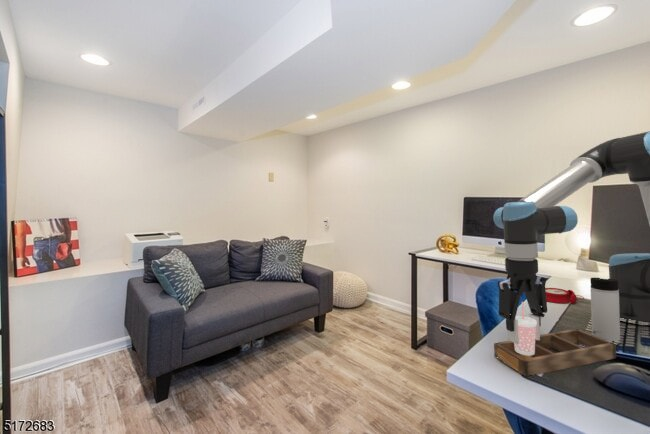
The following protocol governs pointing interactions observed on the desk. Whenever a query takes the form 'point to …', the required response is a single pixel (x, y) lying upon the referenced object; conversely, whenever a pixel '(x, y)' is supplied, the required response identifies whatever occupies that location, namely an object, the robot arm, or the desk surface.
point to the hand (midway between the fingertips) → (524, 339)
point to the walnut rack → (564, 359)
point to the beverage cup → (526, 334)
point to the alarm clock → (560, 296)
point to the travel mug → (605, 309)
